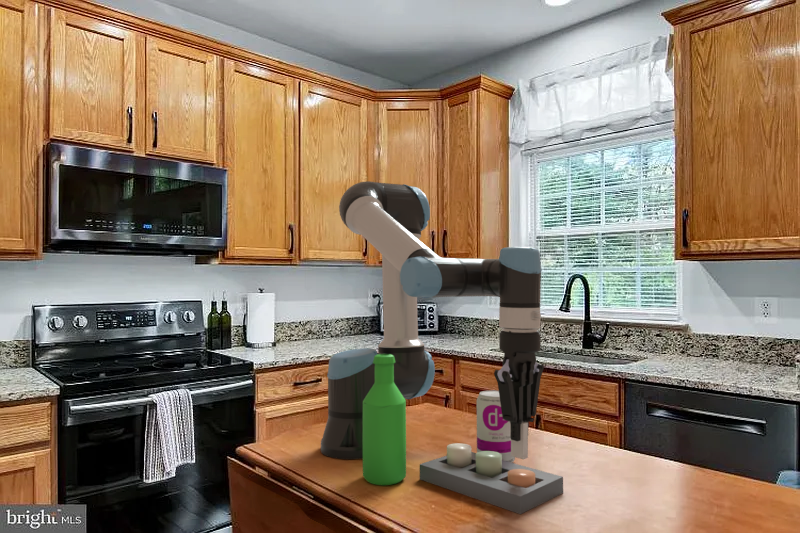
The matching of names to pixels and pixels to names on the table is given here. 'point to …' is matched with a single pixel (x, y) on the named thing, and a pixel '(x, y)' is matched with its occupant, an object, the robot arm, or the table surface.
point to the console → (493, 484)
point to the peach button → (521, 477)
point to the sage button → (489, 463)
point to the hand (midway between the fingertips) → (519, 456)
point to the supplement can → (493, 426)
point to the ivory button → (459, 455)
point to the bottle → (384, 427)
